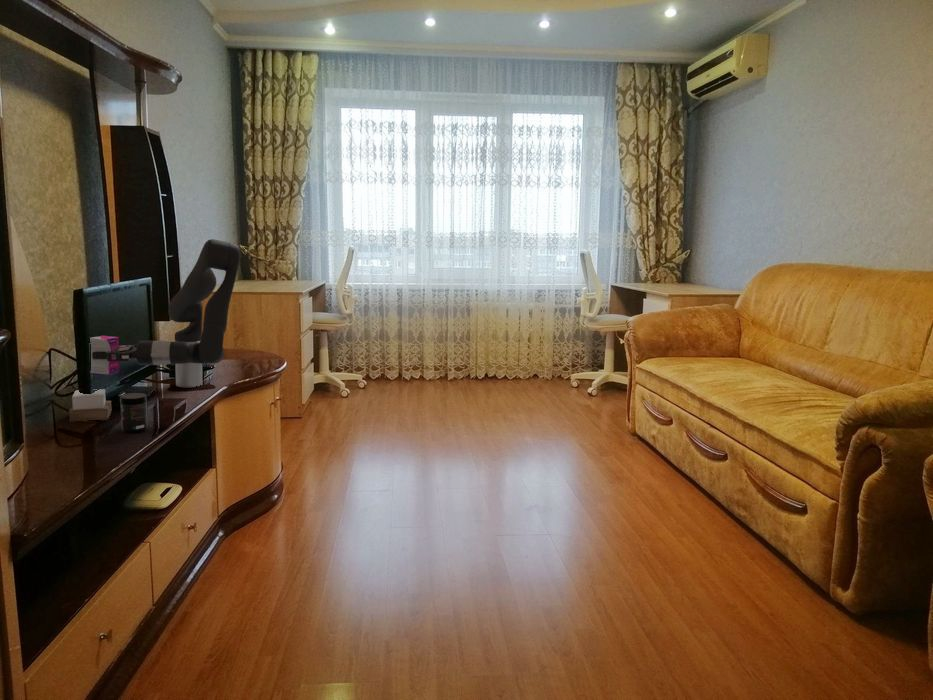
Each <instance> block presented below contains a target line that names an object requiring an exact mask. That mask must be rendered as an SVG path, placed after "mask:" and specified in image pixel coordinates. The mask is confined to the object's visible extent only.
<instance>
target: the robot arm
mask: <svg viewBox="0 0 933 700" xmlns="http://www.w3.org/2000/svg"><path fill="white" fill-rule="evenodd" d="M240 260H241V249H240V246H239V245H238V244H236V243H233V242H229V241H224V240H219V239H208V240H207V241H206V242H205V243H204V244H203V247H202V248H201V251H200V253H199V256H198V259H197V261H196V262H195V265H194V266H193V268H192V270H191V271H190V273H189V274H188V276H187V277H186V279H185V281H184V283H183V284H182V287H180V290H179V291H178V292H177V293H176V294H175V295H173V297H172V298H171V300H170V302H169V304H168V305H169V306H168V310H167V311H168V316H169V318H170V319H171V321H173V323H189V324H188V326H186V327H185V328H183V329H181V330H178V331H175V333H174V341H171V340H170V341H167V340H139V341H138V342H137V344H136V345H135V344H134V345H133V344H132V345H131V344H129V345H125V344H124V345H123V344H119V349H115V350H114V351H107V352H93V353H92V358H93V359H107V361H119V362H130V361H131V360H132V359H136V361H137V364H139V366H150V365H151V366H157V365H159V366H161V365H162V366H164V365H165V366H166V365H175V386H176V387H179V388H196V386H197V387H201V386H203V365H206V364H207V365H213V364H218V363H220V362H221V361H222V360H224V357H225V353H226V352H225V349H224V347H223V346H224V338H225V333H226V331H227V326H228V317H229V309H230V307H229V306H230V303H231V299H232V295H233V291H234V286H235V283H236V279H237V274H238V269H239V266H240ZM212 269H215V270H221V271H224V272H225V275H224V278H223V281H222V282H221V284H220V286H219V287H218V289H217V290H215V288H216V286H217V277H216V274H215V273H214V271H213V270H212ZM213 291H215V292H214V293H213ZM212 293H213V294H212ZM211 294H212V296H211ZM210 296H211V297H210ZM209 297H210V298H209ZM208 298H209V299H208ZM206 299H208V301H207V302H206V304H205V307H204V314H203V304H202V301H205V300H206ZM112 355H114V357H112ZM200 385H201V386H200Z"/></svg>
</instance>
